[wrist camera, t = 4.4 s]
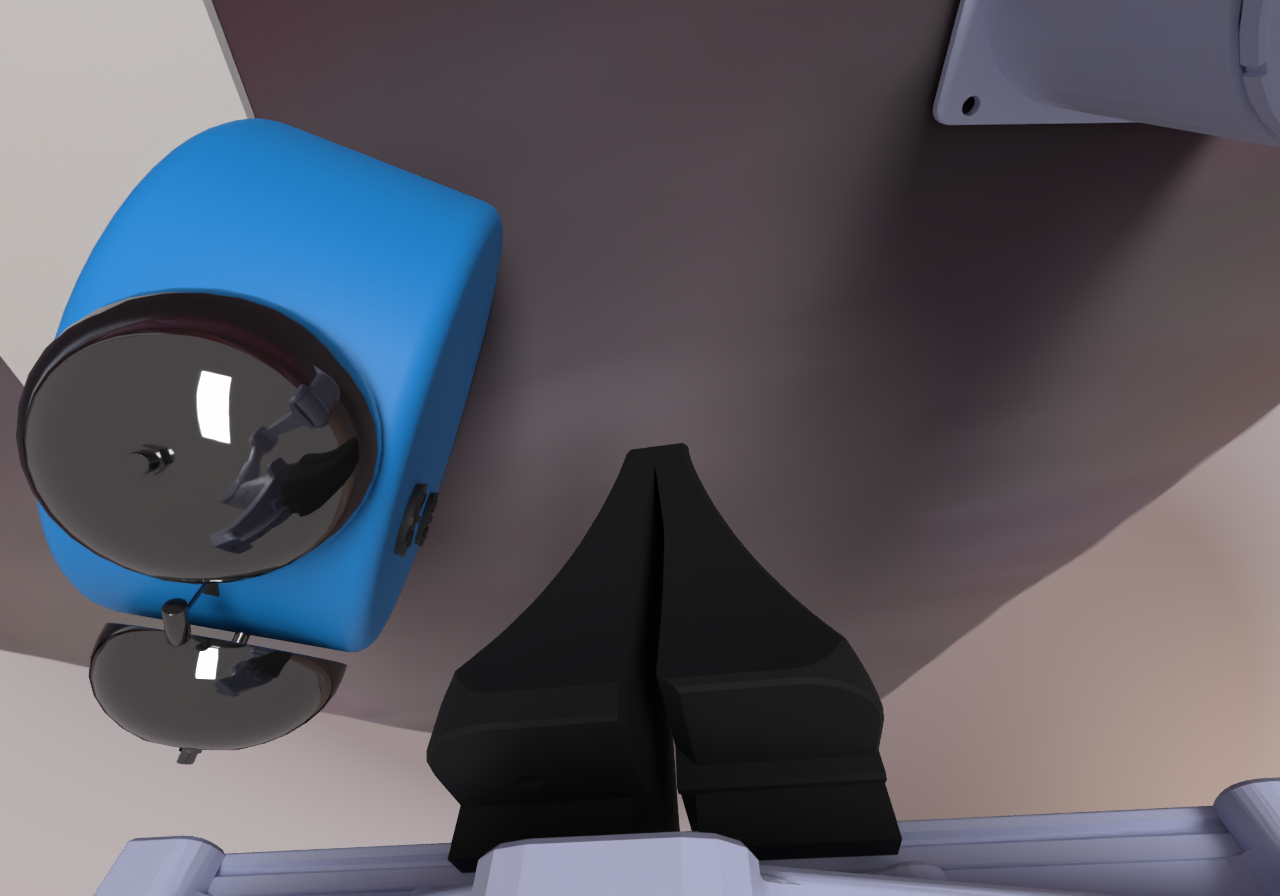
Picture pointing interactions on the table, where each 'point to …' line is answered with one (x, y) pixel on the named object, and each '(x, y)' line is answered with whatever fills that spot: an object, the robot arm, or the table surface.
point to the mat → (91, 135)
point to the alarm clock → (254, 420)
